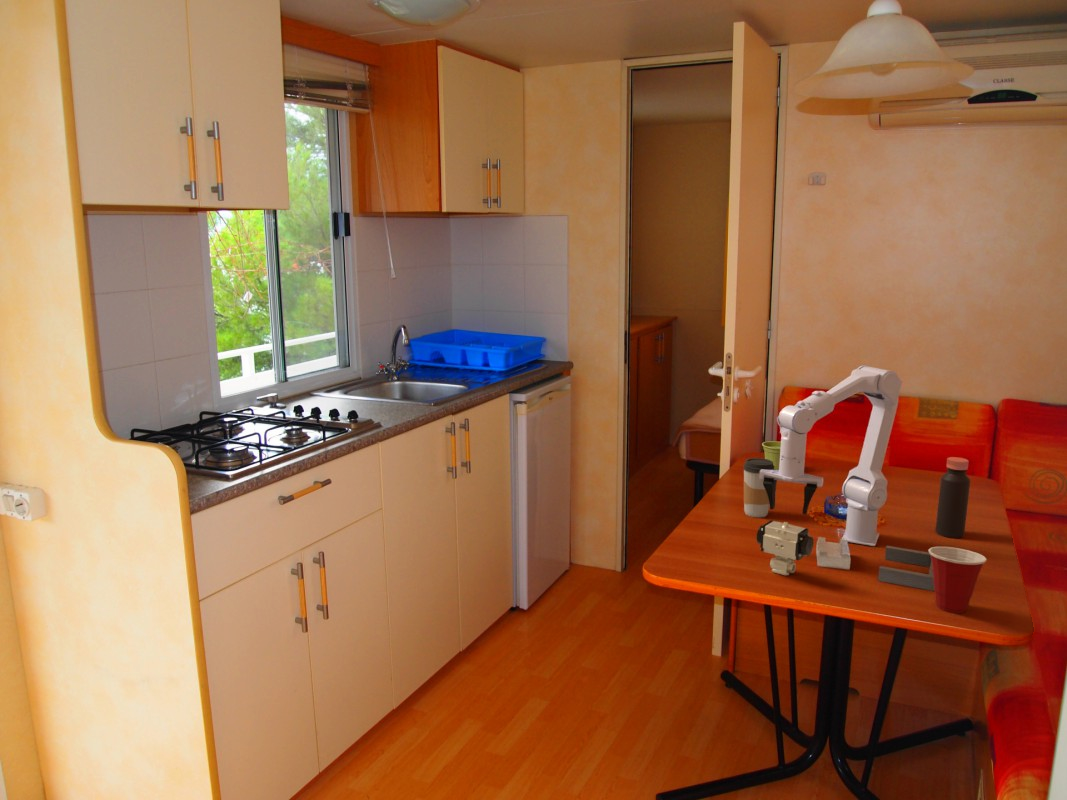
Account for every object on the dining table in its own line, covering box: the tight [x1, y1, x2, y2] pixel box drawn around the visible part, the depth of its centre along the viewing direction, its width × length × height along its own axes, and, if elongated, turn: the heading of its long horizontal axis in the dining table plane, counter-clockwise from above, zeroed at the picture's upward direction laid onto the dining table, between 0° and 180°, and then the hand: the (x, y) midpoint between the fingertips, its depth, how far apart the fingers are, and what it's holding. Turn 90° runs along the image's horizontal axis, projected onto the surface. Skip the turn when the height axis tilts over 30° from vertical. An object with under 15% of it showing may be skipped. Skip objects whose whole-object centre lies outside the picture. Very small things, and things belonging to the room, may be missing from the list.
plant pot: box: [761, 440, 781, 470], centre depth 278 cm, size 9×9×9 cm
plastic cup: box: [927, 546, 987, 614], centre depth 176 cm, size 11×11×12 cm
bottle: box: [934, 456, 971, 539], centre depth 219 cm, size 7×7×20 cm
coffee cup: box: [743, 457, 775, 518], centre depth 234 cm, size 8×8×15 cm
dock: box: [877, 545, 935, 592], centre depth 194 cm, size 16×12×3 cm
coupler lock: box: [815, 536, 851, 570], centre depth 202 cm, size 10×7×4 cm
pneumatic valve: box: [756, 520, 814, 577], centre depth 193 cm, size 6×12×12 cm, turn 51°
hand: (788, 510), depth 205 cm, fingers open, 7 cm apart
